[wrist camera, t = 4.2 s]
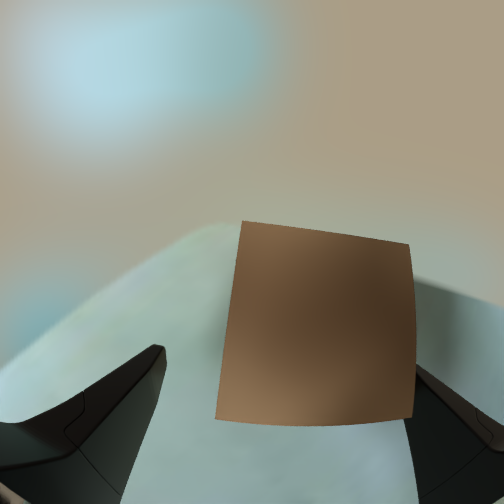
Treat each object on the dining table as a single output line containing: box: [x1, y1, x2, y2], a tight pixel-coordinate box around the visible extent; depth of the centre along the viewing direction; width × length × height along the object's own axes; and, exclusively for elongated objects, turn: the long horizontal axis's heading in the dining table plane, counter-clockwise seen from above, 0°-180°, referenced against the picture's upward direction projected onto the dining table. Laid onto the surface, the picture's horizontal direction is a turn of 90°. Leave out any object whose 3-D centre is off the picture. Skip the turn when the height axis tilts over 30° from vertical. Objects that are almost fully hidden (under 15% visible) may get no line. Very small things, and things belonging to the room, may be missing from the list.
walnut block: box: [215, 221, 416, 426], centre depth 11 cm, size 4×4×13 cm
